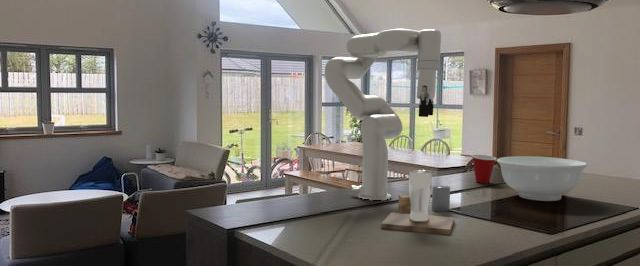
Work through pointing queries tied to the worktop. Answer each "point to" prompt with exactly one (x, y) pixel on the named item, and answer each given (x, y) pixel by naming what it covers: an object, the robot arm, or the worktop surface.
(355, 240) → the worktop surface
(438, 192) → the cylinder
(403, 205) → the teak block
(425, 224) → the walnut board
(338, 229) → the worktop surface
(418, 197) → the beer glass
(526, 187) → the bowl
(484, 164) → the plastic cup
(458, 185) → the worktop surface
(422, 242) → the worktop surface
